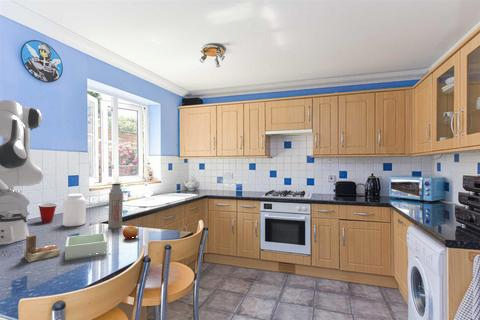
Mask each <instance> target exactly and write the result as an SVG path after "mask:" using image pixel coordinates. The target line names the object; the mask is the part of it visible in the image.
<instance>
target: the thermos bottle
mask: <svg viewBox="0 0 480 320" xmlns="http://www.w3.org/2000/svg"><path fill="white" fill-rule="evenodd" d="M122 190H123V189H122V188H121V183H112V184H111V188H110V191H109V194H108V221H107V222H108V225H107V228H108V229H120V228H122V227H123V198H124V197H123V196H124V192H123V191H122Z"/></svg>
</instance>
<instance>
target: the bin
mask: <svg viewBox="0 0 480 320" xmlns="http://www.w3.org/2000/svg"><path fill="white" fill-rule="evenodd" d="M107 243H108V241H107V236H106V232H99V233H88V234H81V235H71V236H67V238H66V242H65V247H64V248H65V249H64V261H70V260H71V261H72V260H78V259H83V258H84V259H85V258H89V257H91V258H92V257H99V256H104V255H107V254H108V253H107V251H108V250H107V249H108V247H107V245H108V244H107ZM104 252H105V253H104ZM96 253H98V254H96ZM89 254H91V255H89Z"/></svg>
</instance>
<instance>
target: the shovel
mask: <svg viewBox="0 0 480 320" xmlns="http://www.w3.org/2000/svg"><path fill="white" fill-rule="evenodd" d="M25 242H26V243H25V249H24V250H23V257H24V258H25V260H26V261H28V263H30V262H36V261H40V260H44V259H48V258H52V257H53V258H54V257H58V256H60V251H61V250H60V248H57V249H55V250H50V251H45V252H40V250H41V248H43V247H44V246H40V247H37V235H36V234H29V235H27V236H26V239H25ZM52 245H53V244H52ZM52 245H51V244H50V245H47V246H45V247H48V248H50V246H52Z"/></svg>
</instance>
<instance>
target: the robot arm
mask: <svg viewBox="0 0 480 320" xmlns="http://www.w3.org/2000/svg"><path fill="white" fill-rule="evenodd" d="M42 121H43V115H42V113H41V111H40V110H39V109H37V108H34V107H27V106H23V105H20V103H18V102H17V101H15V100H11V99H3V100H1V101H0V137H2V143H1V144H0V245H9V244H13V243H16V242H20V241H25V240H26V236H27V235H30V233H29V229H28V221H29V219H28V218H29V215H30V212H29V211H28V208H27V207H28V206H29V205H30V202H31V201H30V200H29V199H28V198H27V196H25V195H24V194H22V193H21V192H20V191H18V190H16V189H14V188H16V187H29V186H34V185H39V184H41V182H42V181H43V180H44V177H45V176H44V172H43V170H42V169H41V167H39V166H38V165H36V163H35V162H34V161H33V160H32V158H31V153H30V152H31V151H30V150H31V149H30V148H31V147H30V145H31V132H30V131H33V129H37V128H39V127H40V125H41V124H42Z"/></svg>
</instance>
